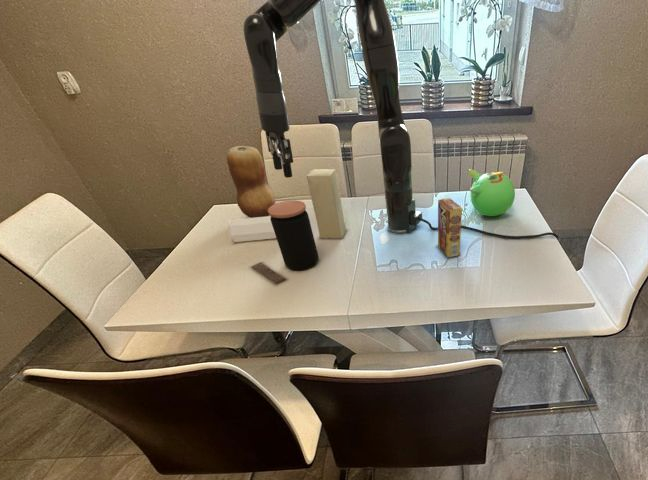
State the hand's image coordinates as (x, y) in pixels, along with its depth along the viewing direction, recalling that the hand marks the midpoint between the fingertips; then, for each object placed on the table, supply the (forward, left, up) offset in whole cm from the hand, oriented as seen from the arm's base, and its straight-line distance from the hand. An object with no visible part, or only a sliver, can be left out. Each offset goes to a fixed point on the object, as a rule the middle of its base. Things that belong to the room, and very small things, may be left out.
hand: (283, 173), depth 114 cm
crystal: (+17, 0, -23) cm, 28 cm away
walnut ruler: (-2, +20, -23) cm, 31 cm away
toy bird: (-53, -44, -23) cm, 73 cm away
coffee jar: (-8, +11, -23) cm, 27 cm away
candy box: (-49, -12, -23) cm, 56 cm away
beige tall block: (-6, -10, -23) cm, 26 cm away
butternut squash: (+30, -13, -23) cm, 40 cm away
